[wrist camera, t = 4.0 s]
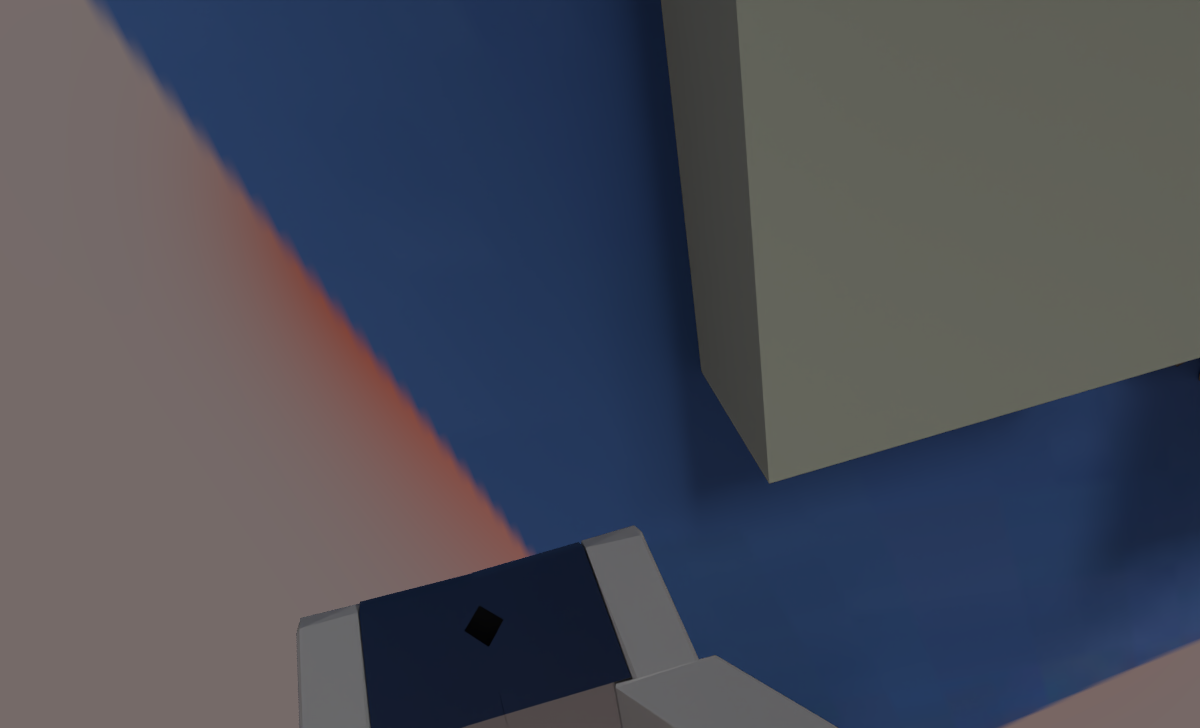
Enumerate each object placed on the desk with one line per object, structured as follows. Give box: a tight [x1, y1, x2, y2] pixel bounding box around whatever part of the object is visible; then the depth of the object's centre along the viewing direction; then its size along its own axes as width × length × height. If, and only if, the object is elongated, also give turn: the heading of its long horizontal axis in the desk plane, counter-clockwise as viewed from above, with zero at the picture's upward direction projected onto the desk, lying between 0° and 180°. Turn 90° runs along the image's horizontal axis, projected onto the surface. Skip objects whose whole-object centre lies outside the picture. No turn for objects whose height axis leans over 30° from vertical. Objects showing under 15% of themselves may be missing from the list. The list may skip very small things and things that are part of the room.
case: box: [661, 0, 1200, 484], centre depth 18 cm, size 12×9×4 cm
